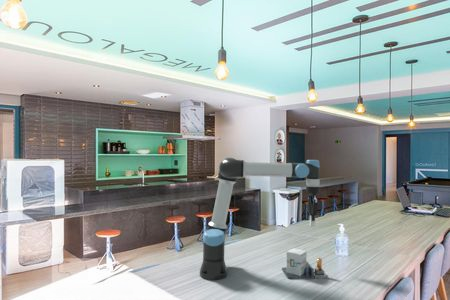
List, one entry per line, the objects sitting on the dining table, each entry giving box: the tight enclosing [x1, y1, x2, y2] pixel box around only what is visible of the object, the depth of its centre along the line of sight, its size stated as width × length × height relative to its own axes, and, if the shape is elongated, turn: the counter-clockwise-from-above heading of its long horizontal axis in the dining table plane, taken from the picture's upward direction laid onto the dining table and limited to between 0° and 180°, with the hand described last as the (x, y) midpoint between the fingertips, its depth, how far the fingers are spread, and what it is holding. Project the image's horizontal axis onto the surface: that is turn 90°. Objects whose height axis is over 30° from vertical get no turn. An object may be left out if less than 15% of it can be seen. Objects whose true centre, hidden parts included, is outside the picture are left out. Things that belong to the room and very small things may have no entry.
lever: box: [314, 257, 325, 275], centre depth 169 cm, size 4×4×9 cm
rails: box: [314, 272, 329, 280], centre depth 172 cm, size 7×16×2 cm, turn 3°
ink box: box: [286, 247, 307, 276], centre depth 171 cm, size 8×8×12 cm
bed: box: [281, 260, 315, 280], centre depth 171 cm, size 14×13×5 cm
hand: (312, 226), depth 181 cm, fingers closed
